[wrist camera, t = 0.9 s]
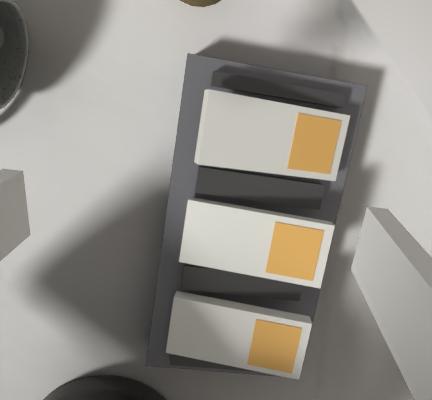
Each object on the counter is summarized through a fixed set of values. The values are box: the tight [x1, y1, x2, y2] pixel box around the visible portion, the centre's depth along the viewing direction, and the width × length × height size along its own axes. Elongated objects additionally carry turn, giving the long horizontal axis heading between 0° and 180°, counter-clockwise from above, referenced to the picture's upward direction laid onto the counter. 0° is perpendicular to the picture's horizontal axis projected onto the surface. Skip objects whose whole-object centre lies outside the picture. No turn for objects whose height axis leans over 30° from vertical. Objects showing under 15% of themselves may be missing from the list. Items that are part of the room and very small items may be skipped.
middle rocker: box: [179, 197, 335, 288], centre depth 29 cm, size 5×11×1 cm, turn 81°
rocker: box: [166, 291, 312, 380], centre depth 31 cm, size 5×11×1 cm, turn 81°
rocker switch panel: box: [146, 53, 367, 377], centre depth 32 cm, size 26×14×4 cm, turn 171°
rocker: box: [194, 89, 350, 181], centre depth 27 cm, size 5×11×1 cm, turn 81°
